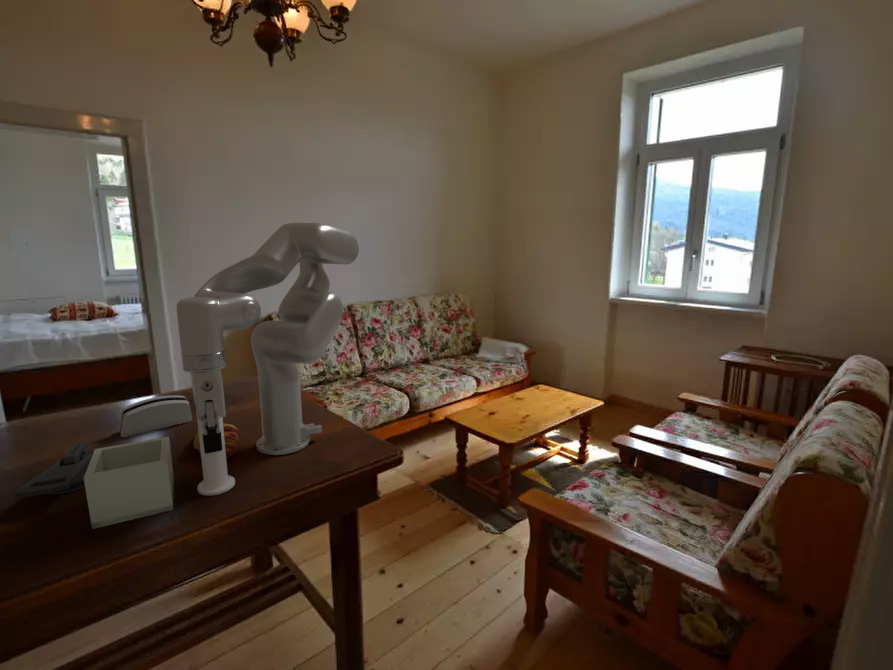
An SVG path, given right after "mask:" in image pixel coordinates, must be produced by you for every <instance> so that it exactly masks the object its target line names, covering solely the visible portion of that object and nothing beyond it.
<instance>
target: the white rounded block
mask: <svg viewBox="0 0 893 670" xmlns="http://www.w3.org/2000/svg"><path fill="white" fill-rule="evenodd" d="M192 417H193V416H192V411H191V406H190V402H189V401H188V398H187V397H186V396H185V395H178V394H177V395H162V396H154V397H150V398H146V399H143V400H140V401H137V402H134V403H131V404H130V405H127V406H125V407H123V408H122V410H121V417H120V424H119V433H120V437H121V438H122V437H124V438H127V437H128V436H129V437H132V436H136V435H140V434H145V433H149V432H150V433H151V432H153V431H157V430H162V429H166V428H170V426H171V427H174V426H173V425H175V426H178V425H177V424H179V425H183V424H187V423H191V422H190V421H192V422H193V418H192ZM186 422H187V423H186ZM182 423H183V424H182Z"/></svg>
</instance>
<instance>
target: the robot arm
mask: <svg viewBox="0 0 893 670" xmlns="http://www.w3.org/2000/svg"><path fill="white" fill-rule="evenodd" d="M359 245H360V244H359V242H358V240H357V238H356V237H355V236H354V234H353V233H352V232H350V231H347V230H344V229H340V228H339V227H338V228H337V227H335V226H332V225H329V224H325V223H320V222H288V223H287V222H286V223H285V224H283V225H281V226H279V228H277V230H276V231H275V232H274V233H273V234H272V235H271V236H270V237H269V238H268V239H267V240H266V241H265V242H264V243H263V244H262V245H261V246H260V247H259V248H258V249H257V250H256V252H254V253H253V254H252V255H251V256H249V257H247V258H244V259H242V260H239V261H238V262H236V263H234V264H232V265H230V266H228V267H226V268H224V269H222V270H220V271H219V272H217V273H216V274H214V275H213V276H211V277H210V278H209V279H208V280H207V281H206V282H205V283H204V284H203V285H202V286H201V287H200V288H199V289H198V290H197V291H196V292H195V294H194V296H192V297H186V298H182V299H180V300H179V301H178V302H177V304H176V315H177V325H178V335H179V345H180V353H181V361H182V362H181V363H182V371H183V372H186V373H190V378H191V379H190V381H191V388H192V394H193V401H194V406H195V410H196V411H197V412H196V416H197V415H198V419H199V420H200V421H202V422H203V429H204V434H203V443H204V452H205V453H206V454H207V453H212V452H217V451H221V450H222V439H221V431H219V422H218V416H219V417H222V418H223V419H225V417H226V416H227V414H226V413H227V412H226V403H225V393H224V392H225V391H224V383H223V376H222V369H223V368H224V369H225V367H227V362H226V361H227V360H226V353H225V352H226V351H225V350H226V349H225V340H224V339H225V338H224V332H225V331H226V332H227V331H238V330H239V331H240V330H241V331H242V330H246V329H249V328H251V327H253V326H254V325H255V324H257V322H259V320H260V318H261V314H262V313H261V312H262V309H261V305H260V303H259V302H258V300H257V299H256V298H255V297H253V296H252V295H249V294H247V293H250V292H254V291H259V290H263V289H267V288H270V287H273V286H276V285H278V284H281V283H283V282H284V281H285V279H286V278H287V277H288V276H289V275H290V273H291V272H292V271H293V269H294V268H296V267H297V265H298V264H299V273H298V277H297V278H296V280H295V281H294V282H293V285H291V287H290V288H289V290H288V291H287V292H286V294H285V296H284V297H283V298H282V299H281V302H280V304H279V306H278V311H277V312H278V313H277V314H278V317H279V319H280V320H266V321H263V322H260V323H259V324H257V325H256V326H255V327H254V329H253V330H252V333H251V337H250V344H251V345H250V347H251V350H252V354H253V357H254V360H255V364H256V369H257V378H258V389H259V390H258V391H259V404H260V417H261V430H262V436H261V437H260V438H259V439H258V440H257V441H256V450H257V451H258V452H260V453H261V454H264V455H269V456H282V455H283V456H284V455H289V454H293V453H297V452H299V451H300V450H303V449H304V448H306V447H307V446H308V445H309V443H310V435H313V434H319V433H322V432H323V427H322V424H318V425H315V423H308V424H306V423H304V422H303V411H302V391H301V377H300V372H299V369H298V367H297V365H296V364H301V365H311V364H315V363H316V362H318V361H319V360H320V358H322V357H323V355H324V353H325V351H326V350H327V347H328V346H329V344H330V343H331V341H332V339H333V337H334V336H335V334H336V332H337V330H338V328H339V327H340V324H341V322H342V318H343V313H344V312H343V310H344V307H343V302H342V300H341V298H340V296H338V295H337V294H335V293H334V292H331V291H330V287H331V283H330V279H329V276H328V274H327V273H326V271H325V268H324V265H325V264H326V265H351V264H353V263H354V262H356V260H357V258H358V255H359V253H360V247H359ZM207 384H208V386H206V385H207ZM212 400H213V403H212ZM205 404H206V408H205ZM215 414H216V417H214V415H215ZM204 416H207V419H204ZM206 422H207V423H208V425H206ZM215 422H216V423H215Z"/></svg>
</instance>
